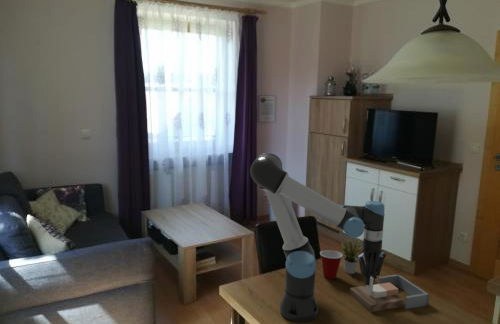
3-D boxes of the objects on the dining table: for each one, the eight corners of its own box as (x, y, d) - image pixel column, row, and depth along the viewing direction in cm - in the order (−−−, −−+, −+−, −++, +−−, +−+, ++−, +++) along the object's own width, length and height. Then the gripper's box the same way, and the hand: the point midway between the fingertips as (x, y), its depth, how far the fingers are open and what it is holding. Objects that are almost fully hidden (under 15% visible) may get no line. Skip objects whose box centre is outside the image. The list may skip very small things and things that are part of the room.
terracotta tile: (386, 296, 163) (386, 290, 163) (377, 289, 169) (377, 284, 168) (398, 294, 165) (398, 288, 164) (389, 287, 170) (389, 282, 170)
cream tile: (374, 298, 161) (374, 292, 161) (365, 291, 167) (366, 285, 166) (386, 296, 163) (386, 290, 162) (377, 289, 169) (378, 284, 168)
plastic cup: (339, 272, 191) (341, 249, 189) (342, 282, 180) (344, 258, 178) (317, 270, 192) (318, 248, 190) (319, 281, 181) (320, 257, 179)
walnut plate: (370, 312, 156) (370, 305, 155) (349, 294, 170) (350, 287, 169) (402, 306, 161) (403, 299, 160) (380, 289, 175) (380, 283, 174)
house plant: (367, 267, 197) (369, 237, 194) (367, 279, 184) (370, 247, 181) (338, 263, 201) (340, 233, 198) (337, 275, 188) (339, 243, 185)
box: (406, 309, 159) (407, 297, 158) (377, 287, 177) (378, 277, 176) (427, 305, 162) (429, 294, 161) (397, 284, 180) (398, 274, 179)
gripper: (364, 243, 154) (361, 298, 158) (392, 240, 158) (387, 293, 162) (354, 236, 161) (350, 289, 165) (380, 234, 165) (376, 285, 169)
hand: (369, 291), depth 163 cm, fingers closed
